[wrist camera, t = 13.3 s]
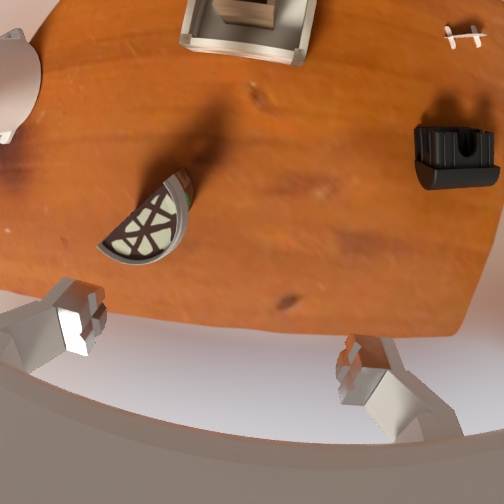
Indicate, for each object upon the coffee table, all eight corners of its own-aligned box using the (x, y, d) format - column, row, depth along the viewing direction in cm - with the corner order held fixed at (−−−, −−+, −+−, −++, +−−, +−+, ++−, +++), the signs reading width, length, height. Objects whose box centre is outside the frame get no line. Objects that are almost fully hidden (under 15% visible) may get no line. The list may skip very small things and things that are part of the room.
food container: (157, 250, 44) (130, 288, 35) (128, 217, 42) (93, 249, 33) (224, 197, 40) (208, 227, 31) (192, 159, 38) (167, 178, 29)
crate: (191, 51, 32) (178, 43, 27) (212, -38, 26) (203, -55, 21) (300, 67, 32) (304, 61, 27) (318, -24, 27) (324, -41, 22)
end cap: (412, 181, 37) (434, 197, 31) (409, 127, 34) (433, 133, 28) (473, 177, 36) (500, 192, 30) (472, 127, 33) (501, 134, 27)
